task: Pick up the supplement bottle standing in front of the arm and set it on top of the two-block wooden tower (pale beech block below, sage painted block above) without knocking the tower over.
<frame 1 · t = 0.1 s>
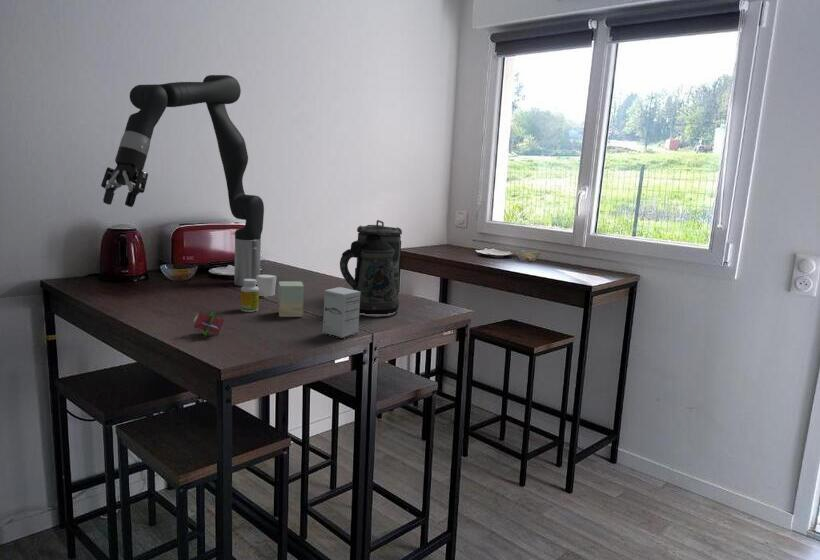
hand: (117, 204, 170), 31 cm above the table, tool tilted 20°, fingers open, 8 cm apart
tower top block: (290, 299, 186), point 5 cm above the table, touching tower base block
beer stein: (370, 312, 197), on the table
tower base block: (290, 315, 187), on the table, touching tower top block
shot glass: (266, 296, 211), on the table
geometric puzzle: (208, 336, 161), on the table
canister: (375, 299, 217), on the table
supplement bottle: (249, 310, 189), on the table
supplement box: (340, 335, 170), on the table
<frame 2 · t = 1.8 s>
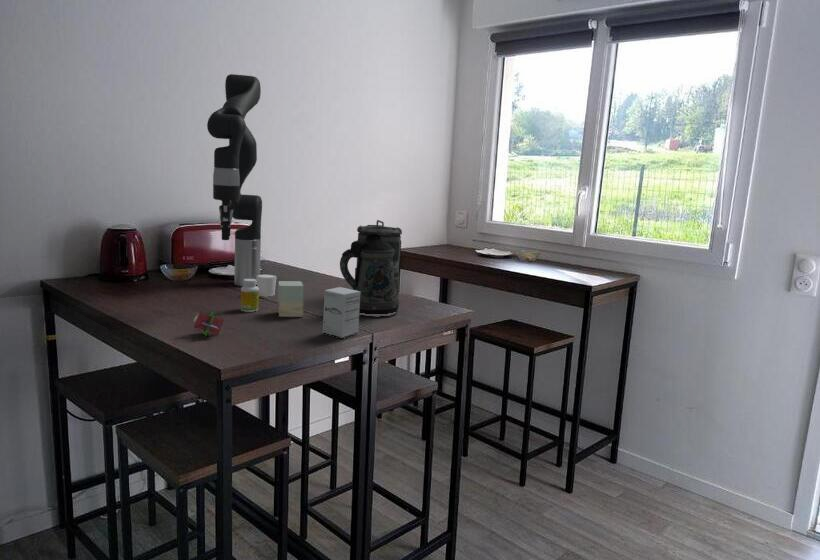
hand: (226, 238, 182), 23 cm above the table, tool pointing down, fingers open, 8 cm apart
nothing on the table moved.
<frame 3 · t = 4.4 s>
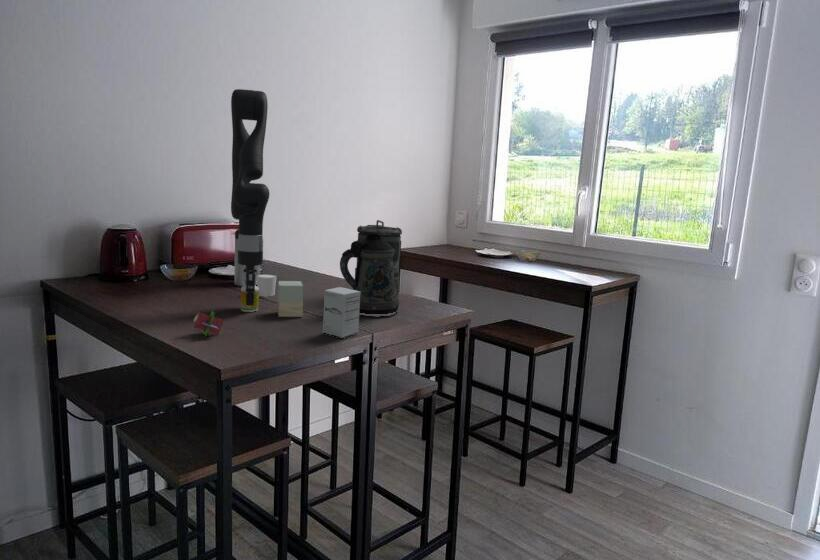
hand: (249, 302, 189), 3 cm above the table, tool pointing down, fingers closed on supplement bottle, 5 cm apart
supplement bottle: (249, 310, 189), on the table, touching gripper
everything else where it was.
when the fingers open (13 cm above the table, at t = 8.9 s): supplement bottle stays where it is, resting on tower top block.
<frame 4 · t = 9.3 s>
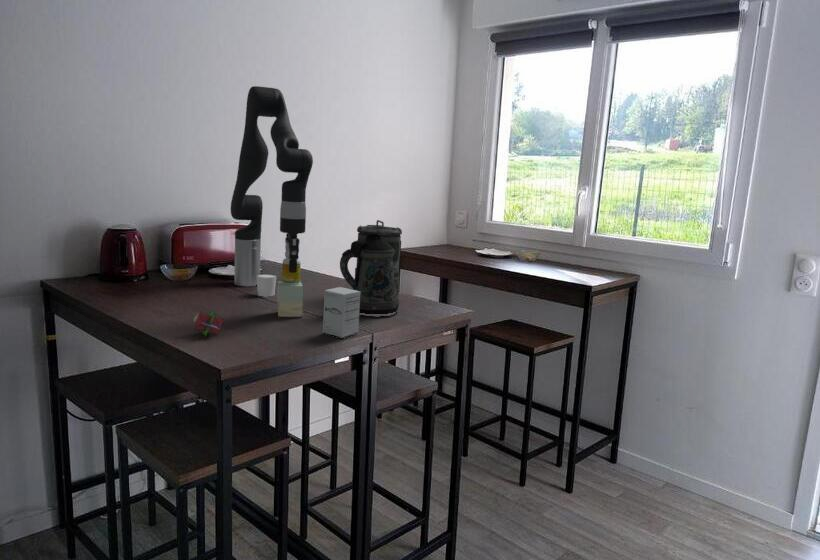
hand: (291, 269, 184), 14 cm above the table, tool pointing down, fingers open, 8 cm apart
tower top block: (289, 299, 186), point 5 cm above the table, touching supplement bottle, tower base block
supplement bottle: (290, 284, 185), point 10 cm above the table, touching tower top block
everything else where it was.
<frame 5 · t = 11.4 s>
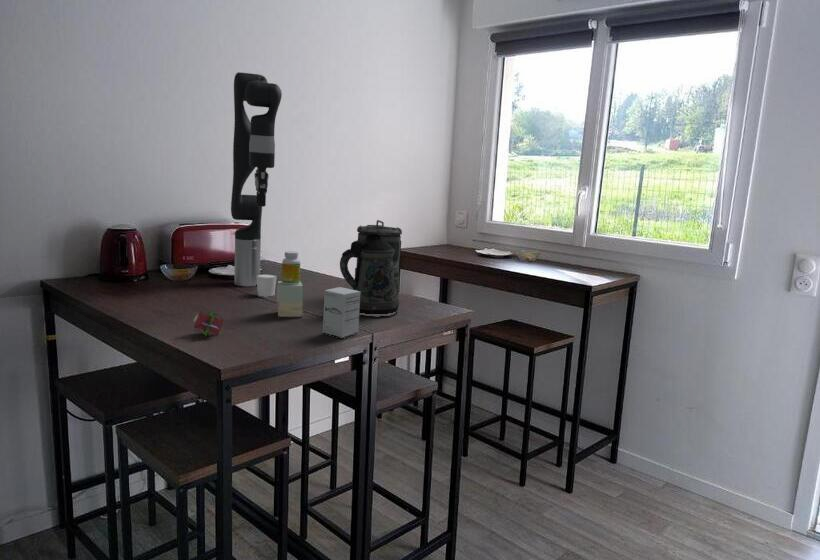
hand: (260, 204, 187), 33 cm above the table, tool pointing down, fingers open, 8 cm apart
nothing on the table moved.
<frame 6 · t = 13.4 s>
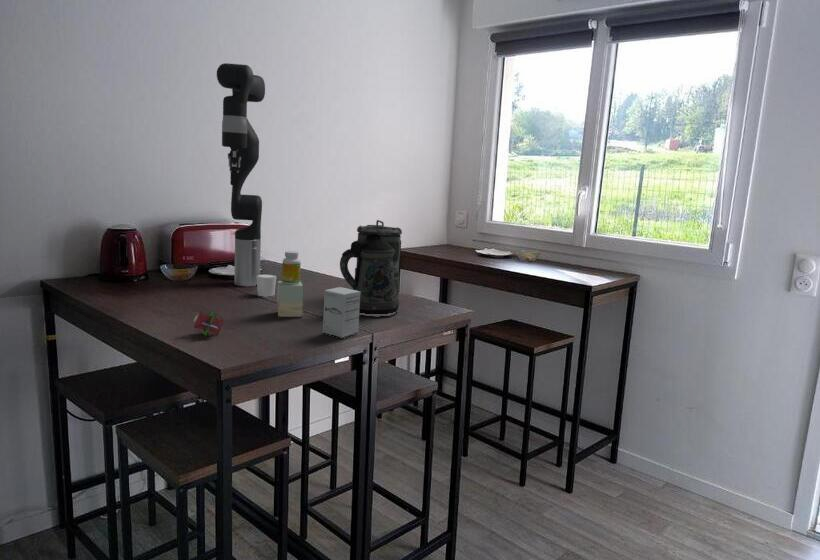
hand: (234, 184, 190), 38 cm above the table, tool pointing down, fingers open, 8 cm apart
nothing on the table moved.
at the end: supplement bottle 0.2 cm from the tower top block (horizontally); supplement bottle point 9.7 cm above the table; tower top block tilted 0° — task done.
